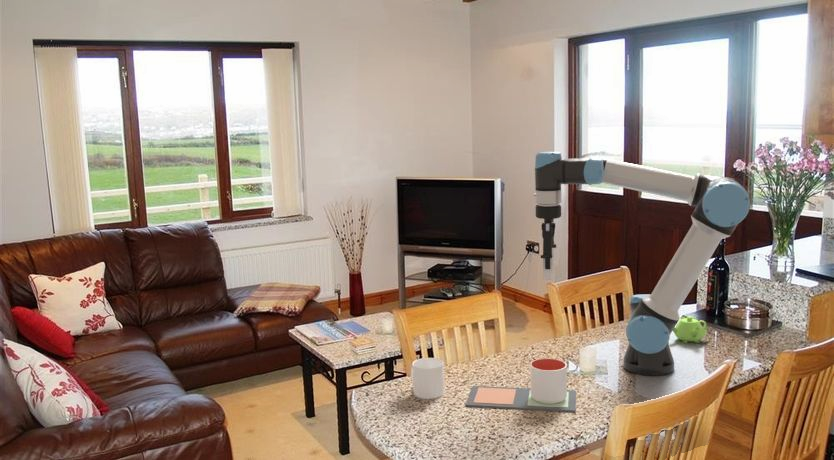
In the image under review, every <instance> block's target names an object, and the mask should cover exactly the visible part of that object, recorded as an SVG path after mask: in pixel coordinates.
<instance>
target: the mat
mask: <svg viewBox="0 0 834 460" xmlns="http://www.w3.org/2000/svg"><path fill="white" fill-rule="evenodd" d="M576 396H577V390H574V389H573V390H570V389H567V396H566V398H565V399H564V400H563V401H562V402H559V403H555V404H545V403H540V402H538V401H536V400H534V399H533V398H532V396H531V387H529V388H528V387H527V388H526V387H506V386H489V385H487V386H485V385H484V386H483V385H472V386H471V390H470V391H469V394H468V397H467V399H466V403H465V407H468V408H469V407H470V408H471V407H473V408H475V407H476V408H488V409H489V408H490V409H491V408H492V409H506V410H507V409H509V410H511V409H512V410H527V411H528V410H529V411H545V412H549V411H550V412H563V413H564V412H565V413H576V411H577V409H576V406H577V403H576V401H577V397H576Z"/></svg>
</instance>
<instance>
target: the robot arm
mask: <svg viewBox="0 0 834 460" xmlns="http://www.w3.org/2000/svg"><path fill="white" fill-rule="evenodd" d="M534 175H535V176H534V180H535V181H534V182H535V183H534V184H535V185H534V187H535V193H533V197H535V204H536V205H535V218H537V219H539V220H540V219H543V220H544V221H543V222H542V223H541V237H542V254H541V255H540V259H542V279H543V281H553V280H554V275H553V274H554V273H553V270H555V249H557V244H555V231H556V223H555V222H554V219H555V220H556V219H560V218H561V217H562V205H561V203H562V185H588V186H591V185H601V184H605V185H609V186H614V187H619V188H623V189H628V190H632V191H637V192H642V193H645V194H650V195H651V194H652V195H655V196H661V197H666V198H669V199H674V200H678V201H683V202H686V203H688V205H689V207H690V206H691V207H695V208H694V210H693V212H692V214H691V215H690V218H691V221H692V224H691V227H690V228H689V230H688V232H687V233H686V235H685V236H684V238H683V240H682V242H681V243H680V245H679V247H678V248H677V250H676V251H675V253H674V255H673V257H672V259H671V260H670V261H669V263H668V265H667V266H666V268H665V270H664V272H663V274H662V275H661V277H660V278H659V280H658V282H657V283H656V285H655V287H654V289H653V290H652V292H651V294H650V293H649V294H646V293H645V294H633V295H631V296H630V298H629V303H628V305H629V316H628V321H627V325H626V328H625V334H626V338H627V341H628V345H627V347H626V350H625V353H624V356H623V363H622V364H623V368H624V369H625V370H626V371H629V372H631V373H634V374H638V375H643V376H653V377H654V376H657V377H658V376H663V375H669V374H670V373H673V372H674V371H675V360H674V357H673V355H672V351H671V348H670V344H669V341H670V335H671V333H672V332H673V329H674V327H675V328H676V325H677V324H678V322H679V321H680V320H681V316H680V313H679V309H680V308H681V307H682V305H683V303H684V302H685V300H686V298H687V296H688V295H689V293H690V292H691V291H692V289H693V287H694V285H695V284H696V282H697V281H698V279H699V277H700V275H701V274H702V272H703V270H704V269H705V267H706V265H707V264H708V262H709V261H710V259H711V258H712V256H713V254H714V253H715V251H716V249H717V247H718V246H719V244H720V243H721V241H722V240H723V239H726V238H729V237H731V236H732V234H733V233H734V231H735V230H736V228H737V226H738V225H739V224H740V223H741V222H742V221H744V219H746V217H747V215H748V214H749V212H750V208H751V199H750V195H749V193H748V191H747V189H746V188H745V187H744V186H743V185H742V184H741V183H740V182H739V181H738V180H736V179H734V178H731V177H728V176H726V177H725V176H717V175H716V176H714V175H707V174H701V173H696V174H694V175H689V174H683V173H679V172H673V171H670V170H665V169H658V168H656V167H655V168H653V167H650V166H644V165H640V164H634V163H629V162H625V161H621V160H615V159H611V158H605V157H600V156H596V155H595V154H593V153H590V154H589V153H588V154H583V155H581V156H579V157H578V158H564V157H562V153H561V152H560V151H540V152H537V153H536V155H535V166H534Z"/></svg>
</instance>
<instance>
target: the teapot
mask: <svg viewBox="0 0 834 460" xmlns="http://www.w3.org/2000/svg"><path fill="white" fill-rule="evenodd" d="M701 323H703V325H702V324H701ZM706 327H707V322H706V321H704V320H703V319H702V320H701V319H700V320H698V319H696V318H693V316H690V315H689V316H688V315H687V316H680V319H679V321H678V322H677V324H676V326H675V327H674V329H673V331H672V332H673V334H674V336H675V337H676V338H677V339H678V340H681V341H682V344H688V342H694V343H695V344H700V343H701V342H700V341H701V340H702V339H704V337H705V336H706V335H707V334H708V331H707V330H706Z"/></svg>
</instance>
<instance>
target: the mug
mask: <svg viewBox="0 0 834 460" xmlns="http://www.w3.org/2000/svg"><path fill="white" fill-rule="evenodd" d="M411 364H412V365H411V367H410V368H411V369H410V378H411V381H412V383H413V395H414V396H415V397H416V398H419V399H422V400H435V399H438V398H441V397H443V396H444V394H445V368H444V364H445V363H444V360H442V359H440V358H436V357H424V358H417V359H415V360H414V361H413V362H412V363H411Z"/></svg>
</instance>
